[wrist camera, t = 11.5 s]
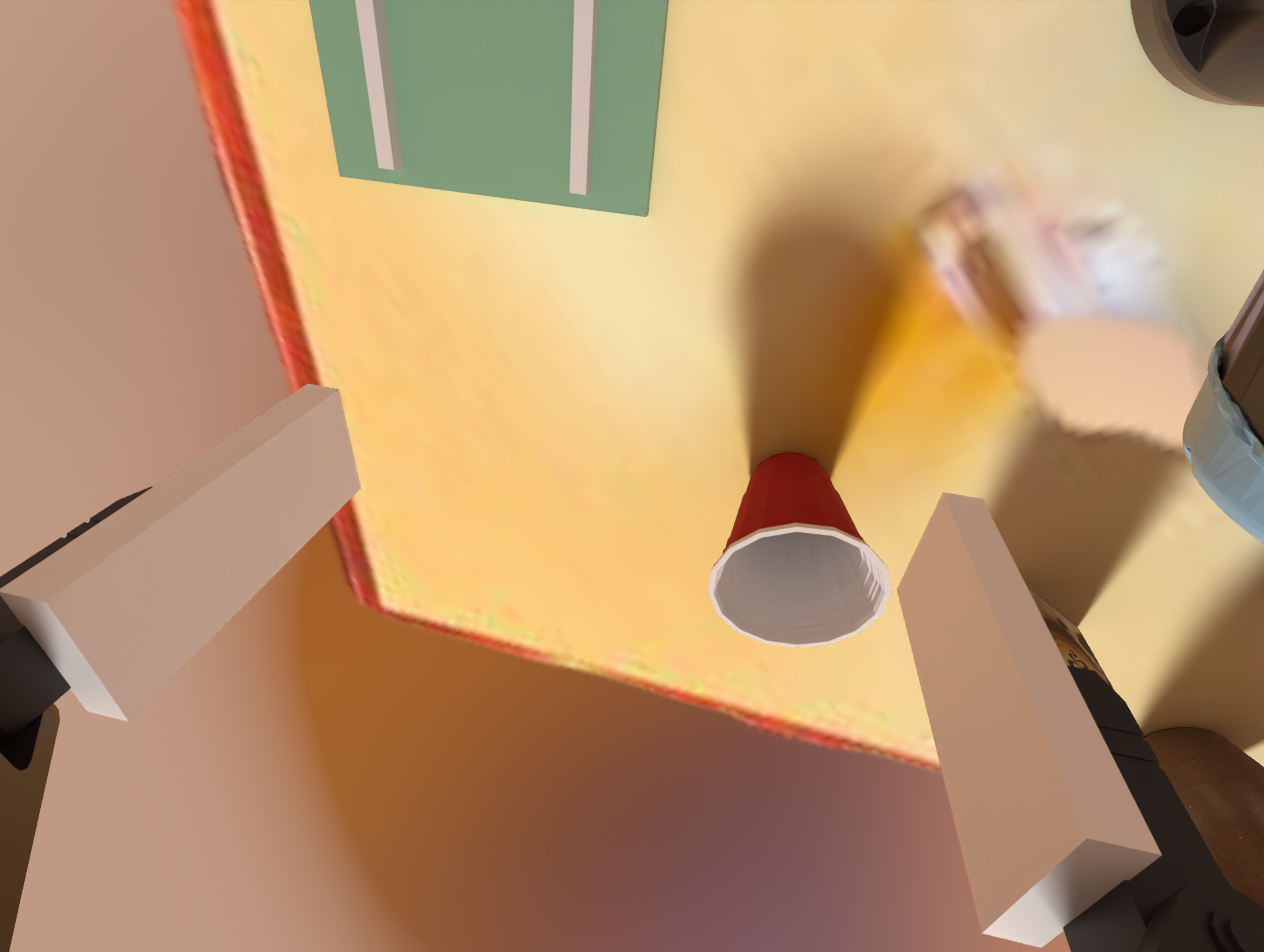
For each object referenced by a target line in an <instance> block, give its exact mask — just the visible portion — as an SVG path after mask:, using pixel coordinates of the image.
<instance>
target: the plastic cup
mask: <svg viewBox="0 0 1264 952" xmlns="http://www.w3.org/2000/svg"><path fill="white" fill-rule="evenodd" d="M891 593H892V591H891V585H890V579H889V574H888V568H887V566H886V565H885V564H884V562H883V561H882V560H881V559H880V558H879V557H878V556H877V555H876V553H875V552H874V551H873V550H872V549H871V548H870V547H869V546H868V544H867V543H866V542H865V541H864V540H863V538H862V537H861V536H860V534H859V533H858V531H857V529H856V527H855V525H854V523H853V521H852V519H851V517H850V515H849V513H848V511H847V509H846V507H845V505H844V503H843V501H842V499H841V497H840V495H839V493H838V492H837V491H836V490H835V488H834V486H833V484H832V482H831V480H830V478H829V476H828V474H827V473H826V472H825V471H824V469H823V468H822V467H821V466H820V465H819V464H818V462H817V461H815V460H813V459H811V458H809V457H807V456H806V455H804V454H796V453H783V454H778V455H773V456H772V457H770V458H768V459H767V460H765V461H763V462H762V463H761V464H760V465H759V466H758V468H757V469H756V470H755V472H754V473H753V475H752V476H751V478H750V481H749V484H748V487H747V490H746V493H745V494H744V495H743V498H742V502H741V505H740V508H739V511H738V514H737V517H736V520H735V523H734V526H733V530H732V533H731V536H730V538H729V539H728V541H727V545H726V548H725V549H724V550H723V554H722V556H721V557H720V558H719V559H718V560H717V562H716V563H715V564H714V566H713V568H712V571H711V577H710V583H709V589H708V595H709V597H710V599H711V602H712V604H713V606H714V609H715V611H716V613H717V615H718V616H719V617H720V618H722V619H723V620H724V621H725V622H726V623H727V624H728V625H730V626H731V627H732V628H733V629H734V630H735V631H736V632H738V633H741V634H743V635H746V636H748V637H750V638H753V639H755V640H758V641H760V642H763V643H765V644H773V645H780V646H788V647H795V648H799V647H809V646H818V645H828V644H832V643H834V642H837V641H840V640H842V639H845V638H848V637H850V636H853V635H856V634H858V633H860V632H861V631H863V630H864V629H865V628H866V627H867V626H869V625H870V624H871V623H872V622H874V621H875V620H876V619H877V618H878V617H880V616H881V615H882V613H883V610H884V608H885V606H886V604H887V602H888V599H889V597H890V595H891Z"/></svg>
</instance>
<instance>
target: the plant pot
mask: <svg viewBox="0 0 1264 952" xmlns="http://www.w3.org/2000/svg"><path fill="white" fill-rule="evenodd" d="M1143 740H1144V741H1148V743H1149V745H1150V746H1151V748H1152V750H1153V752H1154V754H1155V755H1156V757H1157V759H1158V761H1159V768H1160V769H1164V771H1165V773H1166V775H1167V776H1168V778H1169V780H1170V782H1171V783H1172V785H1173V787H1174V789H1175V791H1176V792H1177V794H1178V796H1179V798H1180V799H1181V801H1182V803H1183V805H1184V806H1185V808H1186V810H1187V812H1188V813H1189V815H1190V817H1191V819H1192V820H1193V822H1194V824H1195V826H1196V828H1197V829H1198V831H1199V833H1200V835H1201V836H1202V838H1203V840H1204V842H1205V843H1206V845H1207V847H1208V849H1209V850H1210V852H1211V854H1212V856H1213V857H1214V859H1215V861H1216V863H1217V865H1218V866H1219V868H1220V870H1221V872H1222V873H1223V875H1224V877H1225V878H1226V880H1227V881H1228V883H1229V884H1230V886H1231V887H1232V888H1233V889H1236V890H1237V891H1239V892H1241V893H1242V894H1244V895H1246V896H1247V897H1249V898H1251V899H1252V900H1254V901H1256V902H1257V903H1259V904H1261V905H1262V906H1264V767H1263V766H1262V765H1260V764H1259V763H1258V762H1256V761H1255V760H1254V759H1252V758H1251V757H1250V756H1248V755H1247V754H1246V753H1244V752H1243V751H1242V750H1240V749H1239V748H1237V747H1236V746H1235V745H1233V744H1232V743H1231V742H1229V741H1228V740H1226V739H1225V738H1223V737H1222V736H1220V735H1218V734H1216V733H1214V732H1212V731H1208V730H1204V729H1198V728H1175V729H1168V730H1163V731H1159V732H1156V733H1153V734H1150V735H1148V736H1146V737H1144V738H1143Z"/></svg>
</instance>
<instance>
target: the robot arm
mask: <svg viewBox="0 0 1264 952" xmlns="http://www.w3.org/2000/svg"><path fill="white" fill-rule="evenodd" d="M1131 9H1132V15H1133V21H1134V25H1135V28H1136V32H1137V35H1138V38H1139V40H1140V43H1141V45H1142V47H1143V49H1144V51H1145V53H1146V55H1147V57H1148V58H1149V60H1150V61H1151V63H1152V64H1153V65H1154V67H1155V68H1156V69H1157V70H1158V72H1159V73H1160V74H1162V75H1163V76H1164V77H1165V78H1166V79H1167V80H1168V81H1169V82H1171V83H1172V84H1173V85H1174V86H1176V87H1177V88H1179V89H1181V90H1182V91H1184V92H1186V93H1188V94H1190V95H1192V96H1195V97H1198V98H1200V99H1203V100H1207V101H1211V102H1215V103H1221V104H1227V105H1242V106H1260V107H1264V0H1131ZM1183 449H1184V451H1185V453H1186V456H1187V458H1188V460H1189V462H1190V463H1191V466H1192V471H1193V475H1194V477H1195V478H1196V480H1197V481H1198V483H1199V484H1200V486H1201V487H1202V488H1203V490H1204V491H1205V492H1206V493H1207V495H1208V496H1209V497H1210V498H1211V499H1212V500H1213V501H1214V503H1215V504H1216V505H1217V506H1218V507H1219V508H1220V509H1221V510H1222V511H1223V512H1224V513H1226V514H1227V515H1228V516H1229V517H1230V518H1231V519H1232V520H1233V521H1235V522H1236V523H1237V524H1238V525H1239V526H1241V527H1242V528H1243V529H1244V530H1246V531H1247V532H1248V533H1250V534H1251V535H1252V536H1254V537H1255V538H1257V539H1258V540H1259V541H1261V542H1262V543H1264V270H1263V272H1262V274H1261V275H1260V277H1259V279H1258V281H1257V282H1256V284H1255V286H1254V288H1253V289H1252V291H1251V293H1250V295H1249V296H1248V298H1247V300H1246V302H1245V303H1244V305H1243V307H1242V309H1241V310H1240V312H1239V314H1238V316H1237V317H1236V319H1235V321H1234V323H1233V324H1232V326H1231V328H1230V330H1228V331H1227V332H1226V333H1225V335H1224V336H1223V337H1222V338H1221V339H1220V340H1219V341H1218V342H1217V343H1216V345H1215V346H1214V348H1213V350H1212V352H1211V355H1210V358H1209V365H1208V375H1207V377H1206V379H1205V381H1204V383H1203V385H1202V387H1201V390H1200V392H1199V394H1198V396H1197V398H1196V400H1195V402H1194V404H1193V406H1192V408H1191V410H1190V412H1189V414H1188V417H1187V419H1186V422H1185V425H1184V430H1183ZM360 488H361V486H360V482H359V477H358V473H357V468H356V464H355V459H354V455H353V450H352V446H351V441H350V437H349V432H348V428H347V423H346V419H345V414H344V410H343V405H342V401H341V396H340V392H339V389H335V388H329V387H323V386H317V385H311V384H307V385H305V386H304V387H302V388H301V389H299V390H298V391H296V392H295V393H293V394H292V395H290V396H289V397H287V398H286V399H284V400H283V401H281V402H280V403H278V404H277V405H275V406H274V407H272V408H271V409H269V410H268V411H266V412H265V413H263V414H262V415H260V416H259V417H257V418H256V419H254V420H253V421H251V422H250V423H248V424H247V425H245V426H244V427H242V428H241V429H239V430H238V431H236V432H235V433H233V434H232V435H230V436H229V437H227V438H226V439H224V440H223V441H221V442H220V443H218V444H217V445H215V446H214V447H212V448H211V449H210V450H208V451H206V452H205V453H203V454H202V455H200V456H199V457H198V458H196V459H194V460H193V461H191V462H190V463H188V464H187V465H185V466H184V467H182V468H181V469H179V470H178V471H176V472H175V473H174V474H172V475H170V476H169V477H167V478H166V479H165V480H163V481H161V482H160V483H158V484H157V485H155V486H154V487H149V488H147V489H144V490H142V491H139V492H137V493H134V494H132V495H130V496H127V497H125V498H122V499H120V500H118V501H116V502H115V503H113V504H111V505H110V506H108V507H107V508H105V509H104V510H102V511H101V512H99V513H98V514H96V515H95V516H93V517H91V518H90V522H89V523H86V522H84V523H82V524H81V525H79V526H78V527H76V528H75V529H73V530H72V531H70V532H68V533H67V537H66V538H59V539H58V540H56V541H55V542H53V543H52V544H50V545H48V546H47V547H45V548H44V549H42V550H41V551H39V552H38V553H36V554H35V555H33V556H32V557H30V558H29V559H27V560H25V561H24V562H22V563H21V564H19V565H18V566H16V567H15V568H13V569H12V570H10V571H9V572H7V573H6V574H4V575H2V576H1V577H0V952H9V949H10V945H11V940H12V936H13V931H14V927H15V922H16V918H17V913H18V909H19V904H20V899H21V895H22V890H23V886H24V881H25V877H26V872H27V868H28V863H29V858H30V854H31V849H32V845H33V840H34V836H35V831H36V827H37V822H38V817H39V813H40V808H41V803H42V799H43V794H44V790H45V785H46V781H47V777H48V771H49V767H50V763H51V758H52V754H53V749H54V745H55V739H56V735H57V731H58V726H59V722H60V718H59V710H58V709H57V707H56V706H55V705H54V702H55V701H56V700H57V699H59V698H60V697H61V696H62V695H63V694H64V693H66V692H67V691H68V690H69V689H71V690H72V692H73V693H74V695H75V696H76V697H77V698H78V700H79V701H80V703H81V704H82V705H83V707H84V708H85V709H86V710H87V711H88V712H92V713H96V714H100V715H104V716H108V717H112V718H116V719H120V720H124V721H128V722H129V721H130V720H131V719H132V718H133V717H134V716H135V715H136V714H137V713H138V712H139V711H140V710H141V709H142V708H143V707H144V706H145V705H146V704H147V703H148V702H149V701H150V700H151V699H152V698H153V697H154V696H155V695H156V694H157V693H158V692H159V691H160V690H161V689H162V688H163V687H164V686H165V685H166V684H167V683H168V682H169V681H170V680H171V679H172V678H173V677H174V676H175V675H176V673H178V672H179V671H180V670H181V669H182V668H183V667H184V666H185V665H186V664H187V663H188V662H189V661H190V660H191V659H192V658H193V657H194V655H196V654H197V653H198V652H199V651H200V650H201V649H202V648H203V647H204V646H205V645H206V644H207V643H208V642H209V640H210V639H211V638H212V637H213V636H214V635H215V634H216V633H217V632H218V631H219V630H220V629H221V628H222V627H223V626H224V625H225V624H226V623H227V622H228V621H229V620H230V619H231V618H232V617H233V616H234V615H235V614H236V613H237V612H238V611H239V610H240V609H241V608H242V607H243V606H244V605H245V604H246V603H247V602H248V601H249V600H250V599H251V598H252V597H253V596H254V595H255V594H256V593H257V592H258V591H259V590H260V589H261V588H262V587H263V586H264V585H265V584H266V583H267V582H268V581H269V580H270V579H271V578H272V577H273V576H274V575H275V574H276V573H277V572H278V571H279V570H280V569H281V568H282V567H283V566H284V565H285V564H286V563H287V562H288V561H289V560H290V559H291V558H292V557H293V556H294V555H295V554H296V553H297V552H298V551H299V550H300V549H301V548H302V547H303V546H304V545H305V544H306V543H307V542H308V541H309V540H310V539H311V538H312V537H313V536H314V535H315V534H316V533H317V532H318V531H319V530H320V529H321V528H322V527H323V526H324V524H326V523H327V522H328V521H329V520H330V519H331V518H332V517H333V516H334V515H335V514H336V513H337V512H338V510H339V509H340V508H341V507H342V506H343V505H344V504H345V503H346V502H347V501H348V500H349V499H350V498H351V497H352V496H353V495H354V494H355V493H356V492H357V491H358V490H359V489H360ZM897 592H898V596H899V600H900V604H901V608H902V612H903V616H904V620H905V624H906V628H907V632H908V636H909V640H910V644H911V648H912V652H913V656H914V660H915V665H916V669H917V673H918V677H919V681H920V685H921V689H922V693H923V697H924V701H925V705H926V709H927V713H928V717H929V721H930V725H931V729H932V733H933V737H934V741H935V745H936V749H937V753H938V757H939V762H940V766H941V770H942V774H943V777H944V782H945V786H946V790H947V793H948V798H949V802H950V805H951V810H952V814H953V818H954V822H955V826H956V830H957V834H958V838H959V842H960V846H961V850H962V854H963V858H964V863H965V867H966V871H967V875H968V879H969V883H970V887H971V891H972V895H973V899H974V902H975V907H976V911H977V915H978V919H979V923H980V927H981V931H982V933H984V934H988V935H992V936H996V937H1000V938H1004V939H1008V940H1012V941H1016V942H1020V943H1024V944H1028V945H1032V946H1036V947H1040V948H1042V947H1043V946H1044V945H1045V944H1047V943H1048V942H1049V941H1051V940H1052V939H1053V938H1055V937H1056V936H1057V935H1058V934H1060V933H1061V932H1062V931H1064V932H1065V935H1066V938H1067V941H1068V944H1069V947H1070V950H1071V952H1264V906H1262V905H1261V904H1259V903H1257V902H1256V901H1254V900H1252V899H1251V898H1249V897H1247V896H1246V895H1244V894H1242V893H1241V892H1239V891H1237V890H1236V889H1233V888H1232V887H1231V886H1230V884H1229V883H1228V881H1227V880H1226V878H1225V877H1224V875H1223V873H1222V872H1221V870H1220V868H1219V866H1218V865H1217V863H1216V861H1215V859H1214V857H1213V856H1212V854H1211V852H1210V850H1209V849H1208V847H1207V845H1206V843H1205V842H1204V840H1203V838H1202V836H1201V835H1200V833H1199V831H1198V829H1197V828H1196V826H1195V824H1194V822H1193V820H1192V819H1191V817H1190V815H1189V813H1188V812H1187V810H1186V808H1185V806H1184V805H1183V803H1182V801H1181V799H1180V798H1179V796H1178V794H1177V792H1176V791H1175V789H1174V787H1173V785H1172V783H1171V782H1170V780H1169V778H1168V776H1167V775H1166V773H1165V771H1164V769H1160V768H1159V761H1158V759H1157V757H1156V755H1155V754H1154V752H1153V750H1152V748H1151V746H1150V745H1149V743H1148V741H1144V740H1143V735H1144V734H1143V732H1142V731H1141V729H1140V727H1139V725H1138V724H1137V722H1136V720H1135V718H1134V717H1133V715H1132V713H1131V711H1130V709H1129V708H1128V706H1127V704H1126V702H1125V701H1124V700H1123V699H1122V698H1121V697H1120V696H1119V695H1118V694H1117V693H1116V692H1115V691H1114V690H1113V689H1112V688H1111V687H1110V686H1109V685H1108V684H1107V683H1106V681H1105V680H1104V679H1103V678H1102V677H1101V676H1100V675H1099V674H1098V673H1097V672H1096V671H1093V670H1088V669H1083V668H1078V667H1073V666H1068V665H1066V663H1065V661H1064V659H1063V657H1062V655H1061V653H1060V651H1059V649H1058V647H1057V645H1056V643H1055V641H1054V639H1053V638H1052V636H1051V634H1050V632H1049V630H1048V628H1047V626H1046V624H1045V622H1044V620H1043V618H1042V616H1041V614H1040V612H1039V610H1038V608H1037V606H1036V604H1035V602H1034V600H1033V598H1032V596H1031V594H1030V592H1029V590H1028V588H1027V586H1026V584H1025V582H1024V580H1023V578H1022V576H1021V574H1020V572H1019V570H1018V568H1017V566H1016V564H1015V562H1014V560H1013V558H1012V556H1011V554H1010V552H1009V550H1008V548H1007V546H1006V544H1005V542H1004V540H1003V538H1002V536H1001V534H1000V532H999V530H998V528H997V526H996V524H995V522H994V520H993V518H992V516H991V514H990V512H989V510H988V508H987V506H986V504H985V502H984V500H983V499H979V498H973V497H967V496H962V495H956V494H950V493H944V492H943V494H942V496H941V498H940V500H939V502H938V504H937V506H936V508H935V510H934V513H933V515H932V517H931V519H930V521H929V523H928V525H927V527H926V529H925V531H924V534H923V536H922V538H921V540H920V542H919V544H918V546H917V548H916V550H915V553H914V555H913V557H912V559H911V561H910V563H909V565H908V567H907V569H906V572H905V574H904V576H903V578H902V580H901V582H900V584H899V586H898V588H897Z"/></svg>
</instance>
